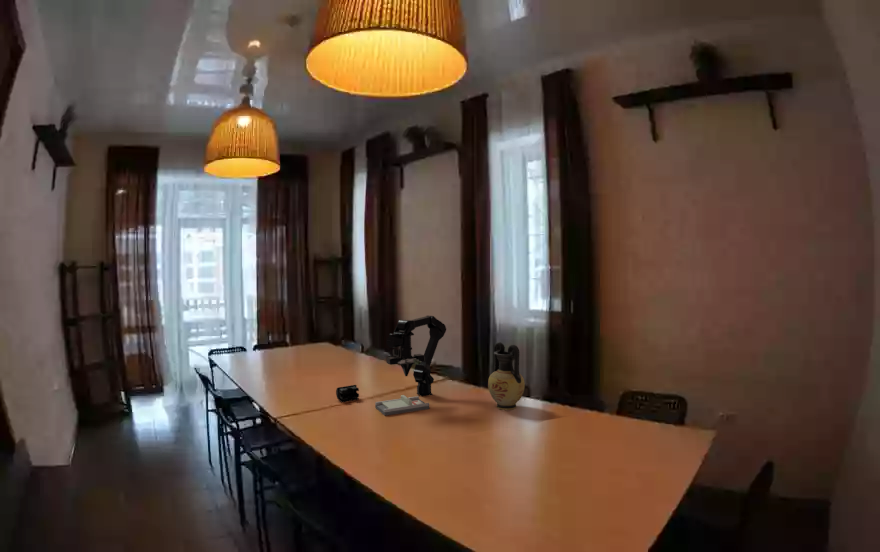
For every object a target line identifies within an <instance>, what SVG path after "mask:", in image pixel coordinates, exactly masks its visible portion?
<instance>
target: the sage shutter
mask: <svg viewBox="0 0 880 552" xmlns="http://www.w3.org/2000/svg"><path fill="white" fill-rule="evenodd" d="M400 399H401V400H396V401H388V402H382V405H384V406H385V407H386V408H387V409H388V408H395V407H402V406H409V405H412V400H410V399H409V397H407V396H406V395H404V394H402V395H400Z"/></svg>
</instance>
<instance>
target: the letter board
mask: <svg viewBox="0 0 880 552" xmlns="http://www.w3.org/2000/svg"><path fill="white" fill-rule="evenodd" d="M408 398H409V399H410V400H412V405H409V406H402V407H395V408H388V409H387V408H386V407H385V406H384V405H382V402H388V401H396V400H401V398H396V399H388V400H382V401H375V403H374V407H375V409H376V410H377V411H378V412H380V413H381V414H382V415H383V416H391V415H397V414H398V415H399V414H405V413H411V412H418V411H425V410H430V402H424V401H423V400H421V399H420V395H417V396H411V397H410V396H409V397H408Z"/></svg>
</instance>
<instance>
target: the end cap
mask: <svg viewBox="0 0 880 552" xmlns="http://www.w3.org/2000/svg"><path fill="white" fill-rule="evenodd" d="M359 391H360V389H359V387H357V384H351V385H344V386H339V387H336V390H335V395H336V398H337V400H338V401H339V402H341V403H348V402H352V401H358V400H359V397H360V393H359Z"/></svg>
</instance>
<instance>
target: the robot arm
mask: <svg viewBox="0 0 880 552" xmlns="http://www.w3.org/2000/svg"><path fill="white" fill-rule="evenodd" d="M424 326H427V329H429V331H428V334H429V339H428V342H427V346H426V348H425V351H424V354H422V353H416V354H413V355H412V351H413V346H412V336H414V335H415V334H414V333H413V331H414V330H415V329H416V328H418V327H424ZM446 332H447V326H446V325H445V324H444V323H443V321H441V320H439V319H437V318H436V317H435V316H434V315H425V316H422V317H418V318H414V319H399V320H398V322H397V324H396V326H395V328H394V330H393V332H392V333H389V335H388V337H387V338H386V346H387V347H388V348H389V349H392V356H387V358H386V360H385V361H386V362H385V363H386V364H388V365H391V366H392V365H397V364H398V365H400V366H401V369H402V371H403V374H404V377H408V376H409V373H410V370H411V368H412V366H413V365H414V364H415V361H418V362H420V363H418V364H417V363H416V364H415V365H414V366H415V367H414V369H413V373H412V374H413V378H414V381H415V383H417V385H416V394H417V396H419V397H425V396H432V395H433V393H432V384H434V381H435V378H434V377H433V376H432V375H431V373H432V369H431V364H432V361H433V358H434V357H435V353H436V350H437V346H438V344H439V341H440V340H441V339H442V338H444V336H445V334H446ZM397 348H398V349H397Z"/></svg>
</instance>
